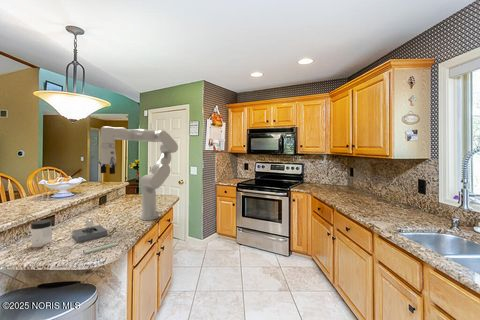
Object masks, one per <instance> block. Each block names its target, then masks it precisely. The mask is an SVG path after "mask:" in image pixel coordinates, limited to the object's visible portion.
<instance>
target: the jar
mask: <svg viewBox="0 0 480 320" xmlns="http://www.w3.org/2000/svg"><path fill="white" fill-rule="evenodd" d="M30 228H31V248H43V247H44V245H46V244H50V243H52V242H53V228H52V219H39V220H36V221H33V222H31V224H30Z"/></svg>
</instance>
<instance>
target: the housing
mask: <svg viewBox="0 0 480 320" xmlns="http://www.w3.org/2000/svg"><path fill="white" fill-rule="evenodd" d="M85 232H86V227H85V228H84V227H83V228H79V229H74V230H72V231H71V233H72V237H73V239H74V240H75V241H76V242H77V244H79V243H83V242H86V241H87V242H88V241H91V240H95V239H100V238H104V237H108V230H107V229H106V228H105V227H104V226H103V225H101V224H98V225H94V232H89V233H85Z"/></svg>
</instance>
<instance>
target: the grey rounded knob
mask: <svg viewBox="0 0 480 320" xmlns="http://www.w3.org/2000/svg"><path fill="white" fill-rule="evenodd" d="M94 226H95V225H94V219H93V218H89V219H85V228H86V232H85V233H89V232H94Z"/></svg>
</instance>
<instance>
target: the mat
mask: <svg viewBox="0 0 480 320" xmlns="http://www.w3.org/2000/svg"><path fill="white" fill-rule="evenodd" d="M116 246H118V243H116V242H111V243H107V244H103V245H99V246H95V247H92V248H87V249H84V250H82V252H83V254H84V255H87V254H91V253H95V252H98V250H99V251H103V250H106V249H110V248H114V247H116ZM102 249H103V250H102Z"/></svg>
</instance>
